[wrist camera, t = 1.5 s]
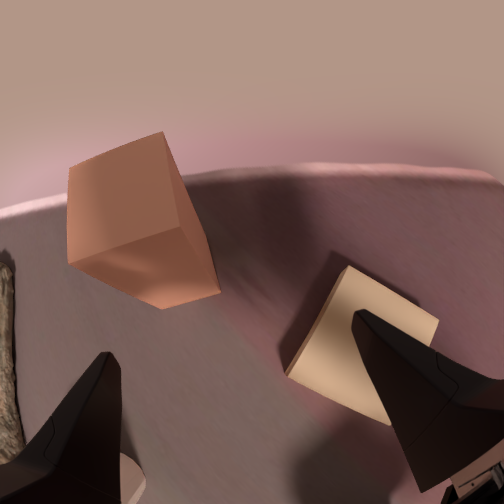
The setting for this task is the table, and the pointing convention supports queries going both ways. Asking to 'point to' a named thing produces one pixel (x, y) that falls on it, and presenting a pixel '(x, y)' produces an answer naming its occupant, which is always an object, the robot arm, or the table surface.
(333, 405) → the table surface
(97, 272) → the terracotta post
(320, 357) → the birch block
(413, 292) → the table surface
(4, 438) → the elongated rock
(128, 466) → the white cup
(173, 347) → the table surface
